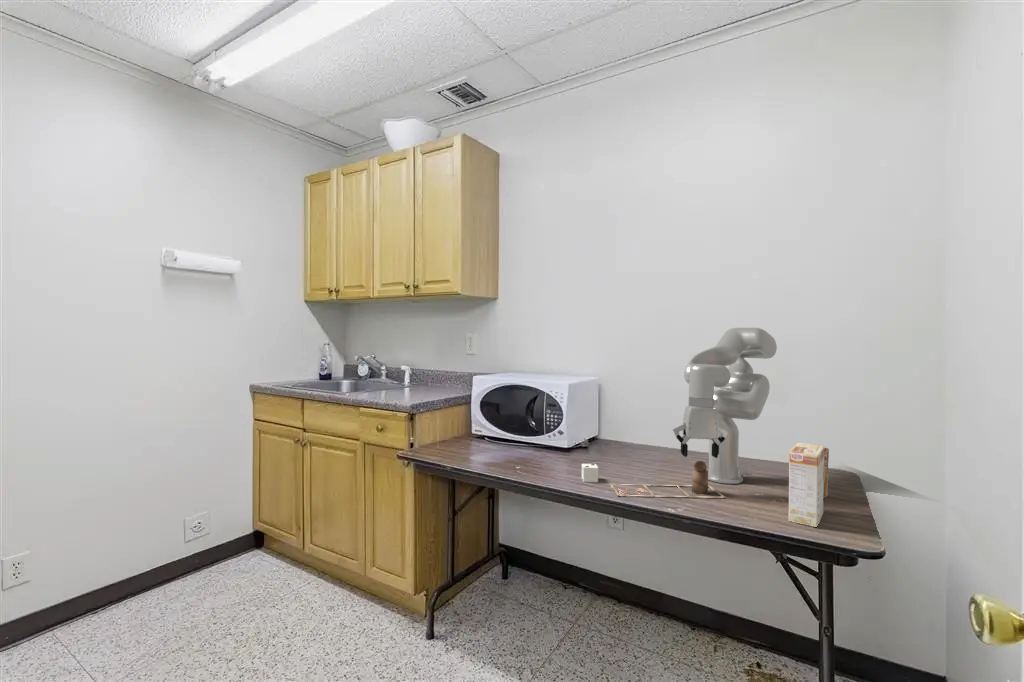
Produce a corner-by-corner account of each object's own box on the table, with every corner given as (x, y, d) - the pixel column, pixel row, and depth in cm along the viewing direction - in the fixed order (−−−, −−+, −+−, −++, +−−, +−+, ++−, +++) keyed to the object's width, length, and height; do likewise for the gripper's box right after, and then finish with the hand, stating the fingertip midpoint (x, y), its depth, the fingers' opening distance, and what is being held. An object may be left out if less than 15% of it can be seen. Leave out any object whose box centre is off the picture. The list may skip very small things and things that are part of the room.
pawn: (704, 490, 154) (704, 459, 154) (710, 494, 149) (710, 463, 149) (689, 489, 154) (690, 458, 154) (695, 494, 150) (695, 462, 149)
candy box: (812, 492, 153) (813, 445, 153) (828, 495, 150) (829, 448, 150) (806, 499, 147) (807, 450, 146) (822, 502, 144) (823, 452, 144)
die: (595, 478, 166) (595, 463, 166) (598, 482, 161) (598, 467, 161) (581, 477, 166) (581, 463, 166) (583, 482, 161) (583, 467, 161)
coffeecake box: (795, 507, 140) (796, 441, 139) (824, 513, 135) (825, 445, 135) (786, 522, 128) (787, 450, 128) (817, 529, 124) (819, 455, 123)
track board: (710, 486, 158) (710, 485, 158) (726, 498, 146) (726, 497, 146) (610, 485, 158) (610, 483, 158) (617, 496, 146) (617, 495, 146)
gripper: (722, 402, 155) (721, 454, 155) (670, 401, 155) (668, 452, 155) (733, 405, 148) (731, 460, 147) (678, 403, 148) (676, 458, 148)
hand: (699, 456), depth 151 cm, fingers open, 9 cm apart
